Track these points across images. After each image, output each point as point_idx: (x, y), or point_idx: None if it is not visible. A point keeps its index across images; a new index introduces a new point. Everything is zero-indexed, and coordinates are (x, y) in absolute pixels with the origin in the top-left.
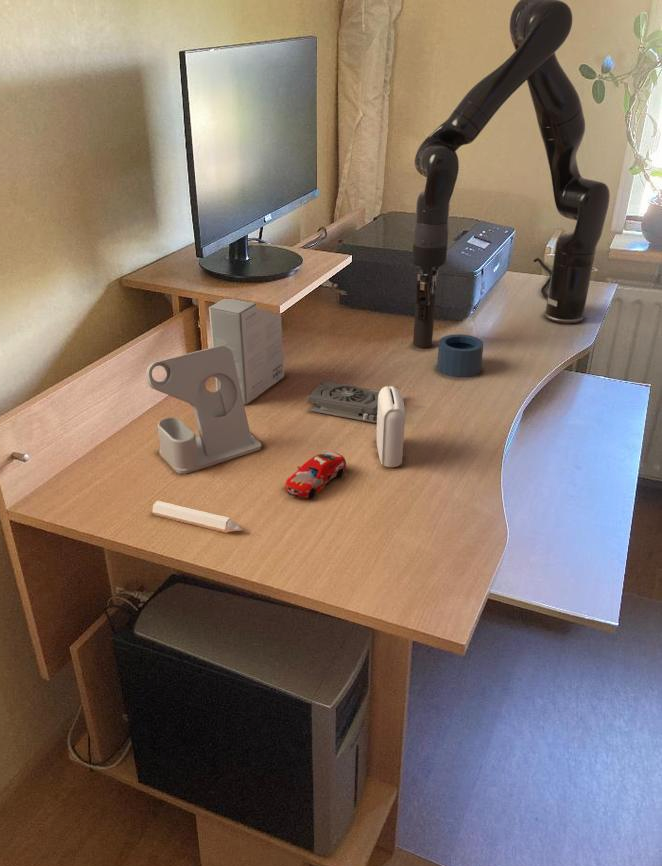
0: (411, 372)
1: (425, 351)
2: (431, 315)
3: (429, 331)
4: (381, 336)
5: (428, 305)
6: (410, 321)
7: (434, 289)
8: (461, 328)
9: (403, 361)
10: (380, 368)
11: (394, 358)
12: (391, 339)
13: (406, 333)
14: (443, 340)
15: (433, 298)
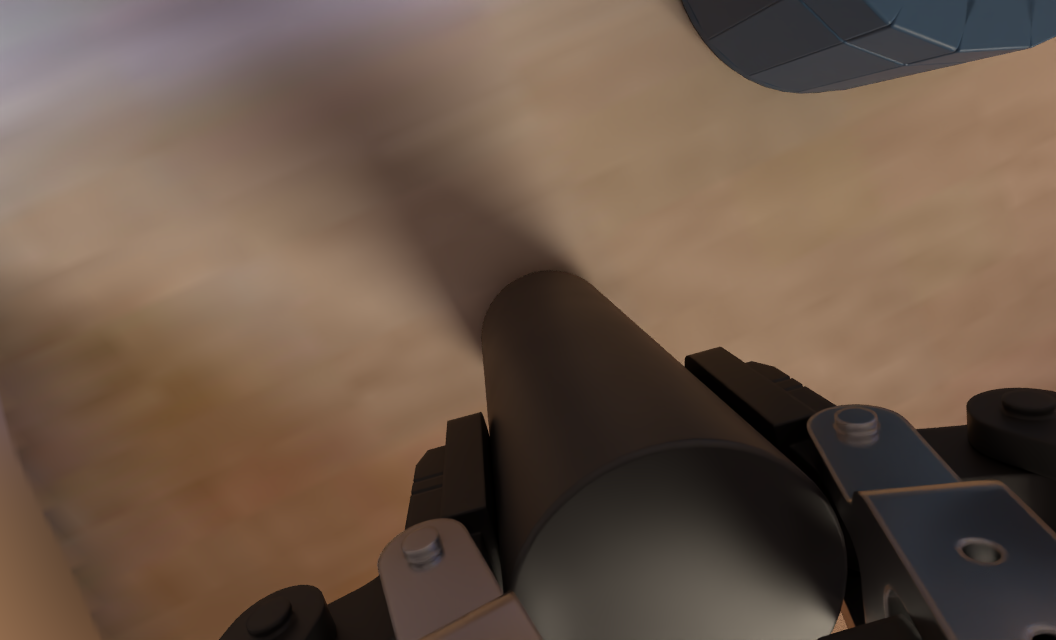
0: (955, 212)
1: (610, 277)
2: (651, 343)
3: (610, 304)
4: None
5: (855, 406)
6: (167, 592)
7: (320, 617)
8: (31, 226)
9: (818, 328)
10: (956, 394)
11: None
12: None
13: (386, 516)
14: (1028, 1)
15: (737, 433)
